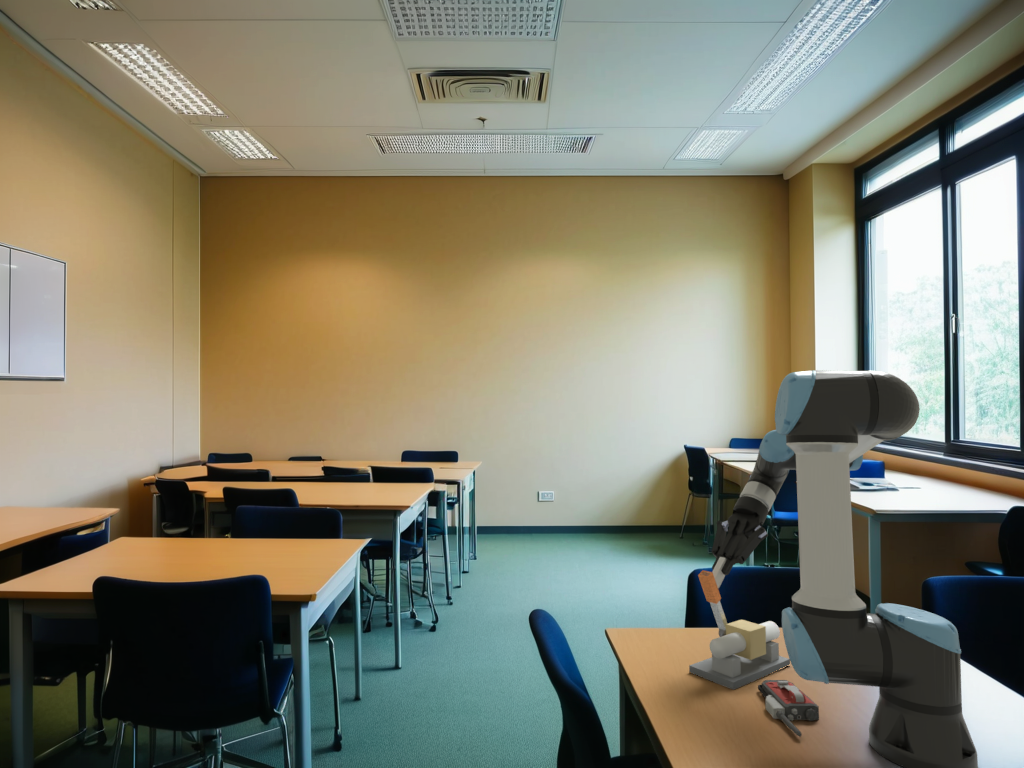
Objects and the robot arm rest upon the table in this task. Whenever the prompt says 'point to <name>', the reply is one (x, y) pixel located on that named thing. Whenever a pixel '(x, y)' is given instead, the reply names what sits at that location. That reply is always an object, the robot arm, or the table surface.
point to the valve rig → (742, 654)
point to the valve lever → (713, 599)
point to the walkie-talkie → (788, 703)
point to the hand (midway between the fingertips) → (713, 583)
